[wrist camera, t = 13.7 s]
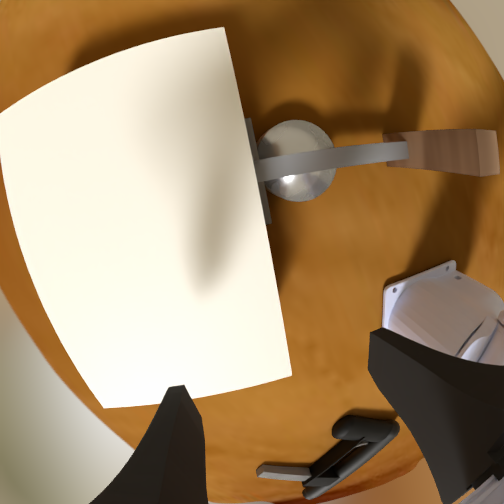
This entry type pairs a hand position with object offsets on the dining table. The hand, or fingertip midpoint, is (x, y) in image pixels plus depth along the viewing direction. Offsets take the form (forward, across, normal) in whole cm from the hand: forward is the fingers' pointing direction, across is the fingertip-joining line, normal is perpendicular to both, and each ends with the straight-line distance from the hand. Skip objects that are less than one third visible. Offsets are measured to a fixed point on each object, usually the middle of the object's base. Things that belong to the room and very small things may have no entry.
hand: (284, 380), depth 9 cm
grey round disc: (+11, -4, -7) cm, 14 cm away
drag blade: (+10, -8, -7) cm, 15 cm away
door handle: (+11, -4, +30) cm, 32 cm away
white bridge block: (+10, +5, -5) cm, 13 cm away
